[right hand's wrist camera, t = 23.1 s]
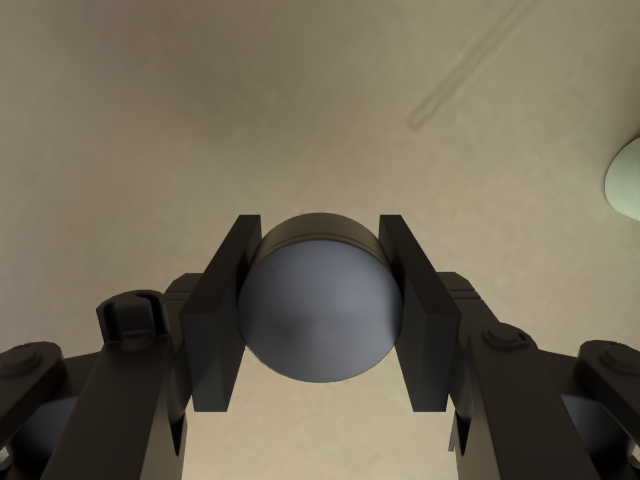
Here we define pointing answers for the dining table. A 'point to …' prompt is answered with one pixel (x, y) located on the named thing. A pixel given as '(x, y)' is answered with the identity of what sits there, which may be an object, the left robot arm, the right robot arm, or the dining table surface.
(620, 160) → the bottle
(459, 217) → the dining table surface
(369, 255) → the lid
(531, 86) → the dining table surface
